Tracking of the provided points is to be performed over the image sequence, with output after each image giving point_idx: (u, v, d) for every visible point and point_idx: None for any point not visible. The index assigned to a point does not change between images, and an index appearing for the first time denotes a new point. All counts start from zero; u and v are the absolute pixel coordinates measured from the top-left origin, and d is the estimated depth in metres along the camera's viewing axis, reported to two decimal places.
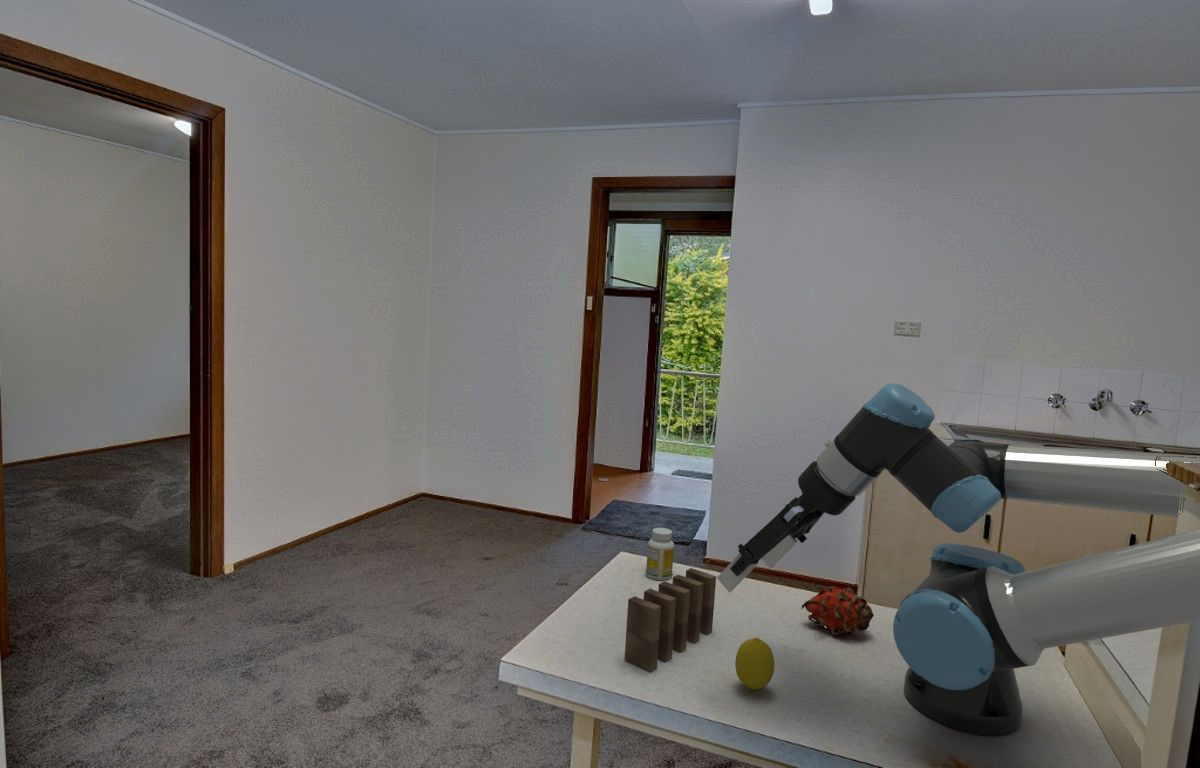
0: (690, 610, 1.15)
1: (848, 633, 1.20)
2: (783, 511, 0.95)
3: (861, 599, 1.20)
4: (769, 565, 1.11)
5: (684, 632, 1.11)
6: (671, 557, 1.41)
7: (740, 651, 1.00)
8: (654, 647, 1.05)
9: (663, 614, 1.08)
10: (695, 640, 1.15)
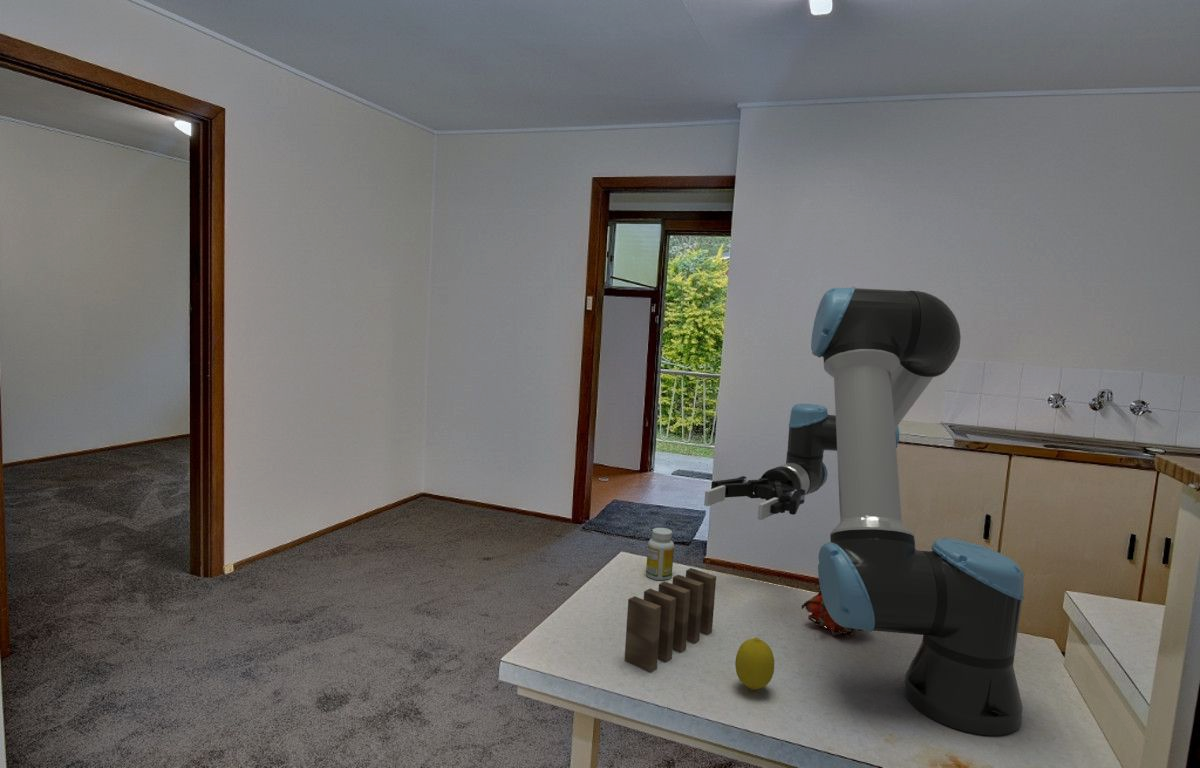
0: (690, 610, 1.15)
1: (848, 633, 1.20)
2: None
3: None
4: (759, 505, 1.22)
5: (684, 632, 1.11)
6: (671, 557, 1.41)
7: (740, 651, 1.00)
8: (654, 647, 1.05)
9: (663, 614, 1.08)
10: (695, 640, 1.15)
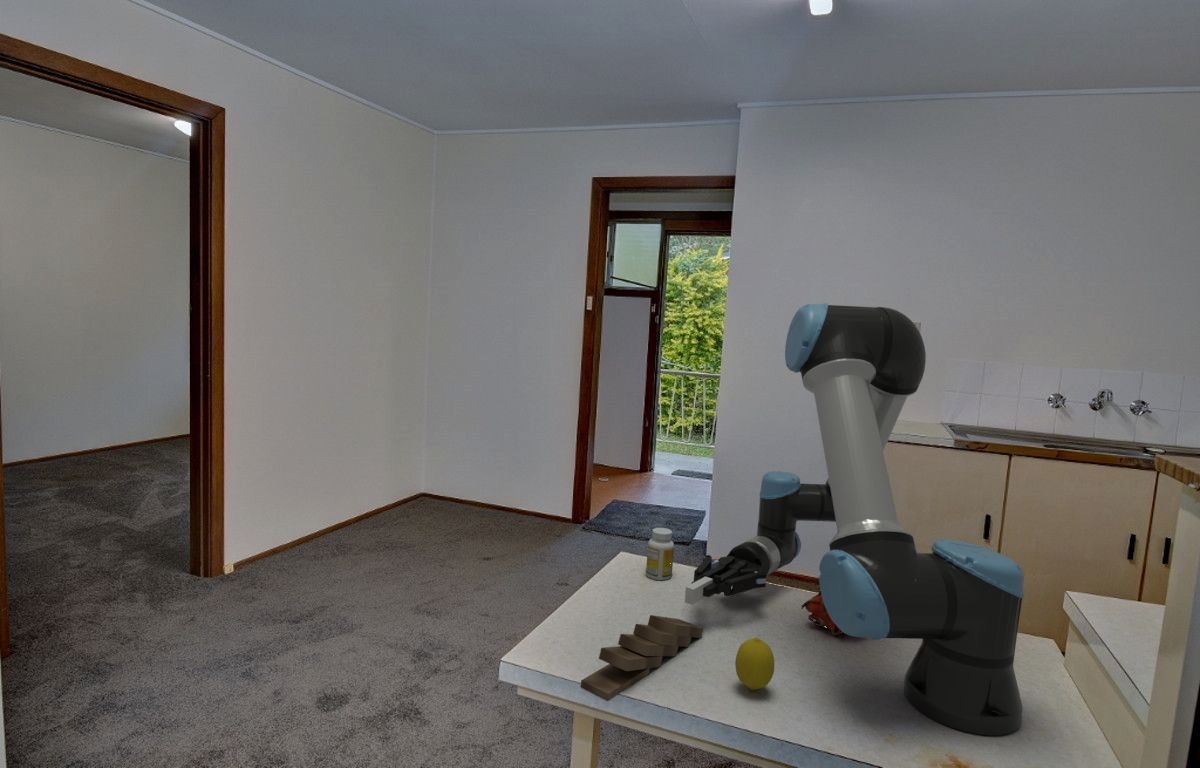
0: None
1: None
2: None
3: None
4: None
5: (667, 651, 1.08)
6: (671, 557, 1.41)
7: (740, 651, 1.00)
8: (634, 683, 1.01)
9: None
10: (688, 644, 1.13)
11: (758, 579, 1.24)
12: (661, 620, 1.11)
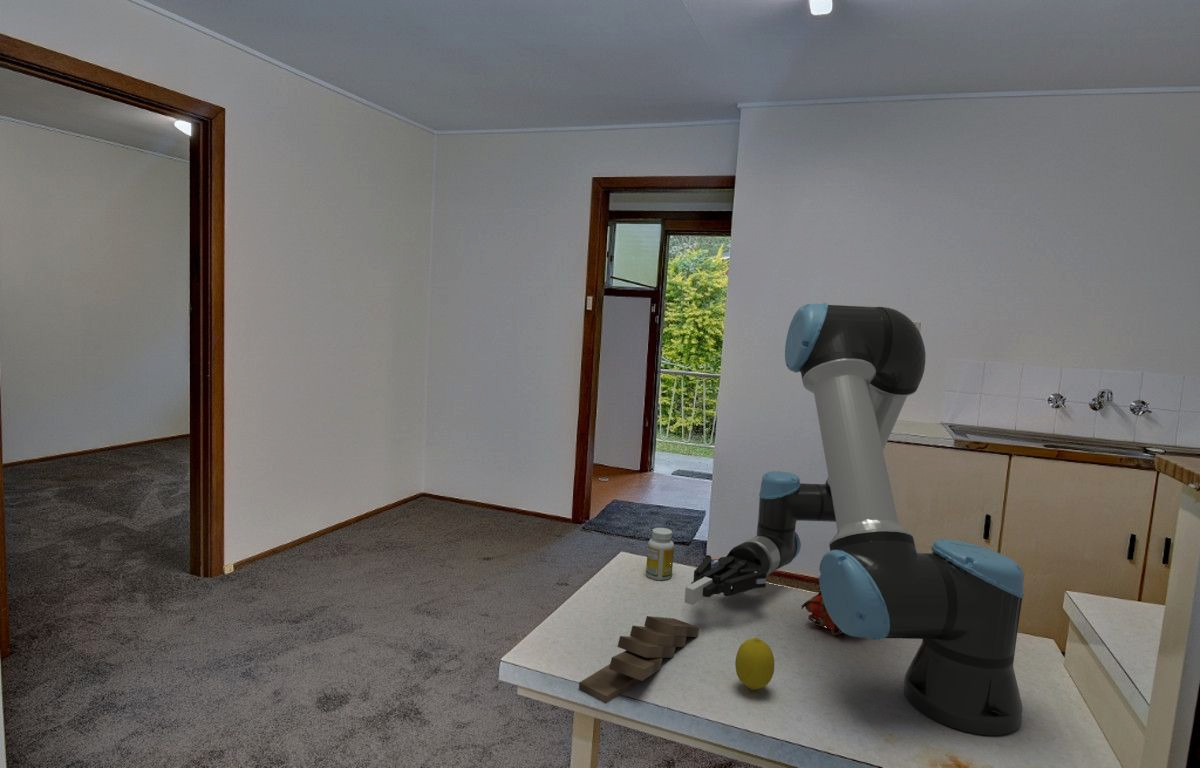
0: None
1: None
2: None
3: None
4: None
5: (666, 652, 1.07)
6: (671, 557, 1.41)
7: (740, 651, 1.00)
8: None
9: None
10: (683, 645, 1.13)
11: (758, 579, 1.24)
12: (658, 621, 1.11)
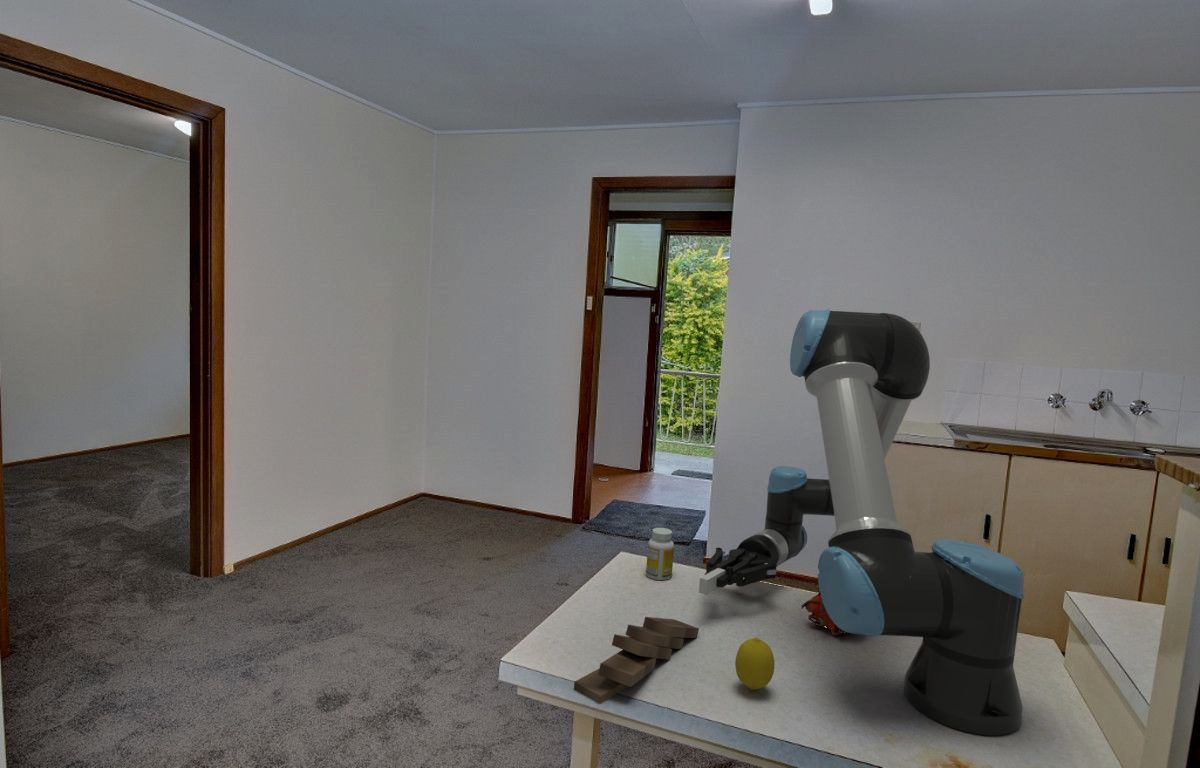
0: None
1: (848, 633, 1.20)
2: None
3: None
4: None
5: (661, 653, 1.06)
6: (671, 557, 1.41)
7: (740, 651, 1.00)
8: None
9: None
10: (680, 647, 1.12)
11: (768, 570, 1.28)
12: (656, 622, 1.11)
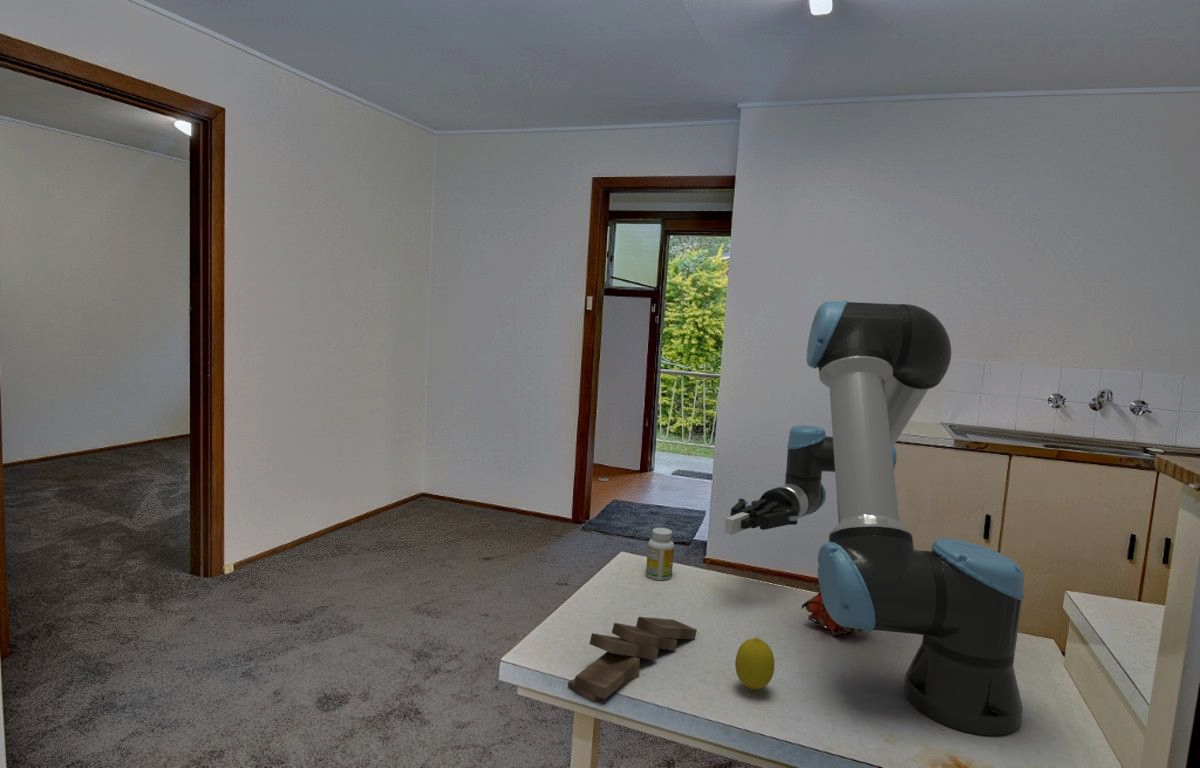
0: None
1: (848, 633, 1.20)
2: None
3: None
4: None
5: (643, 652, 1.05)
6: (671, 557, 1.41)
7: (740, 651, 1.00)
8: None
9: None
10: (673, 648, 1.11)
11: (790, 516, 1.34)
12: (648, 622, 1.11)
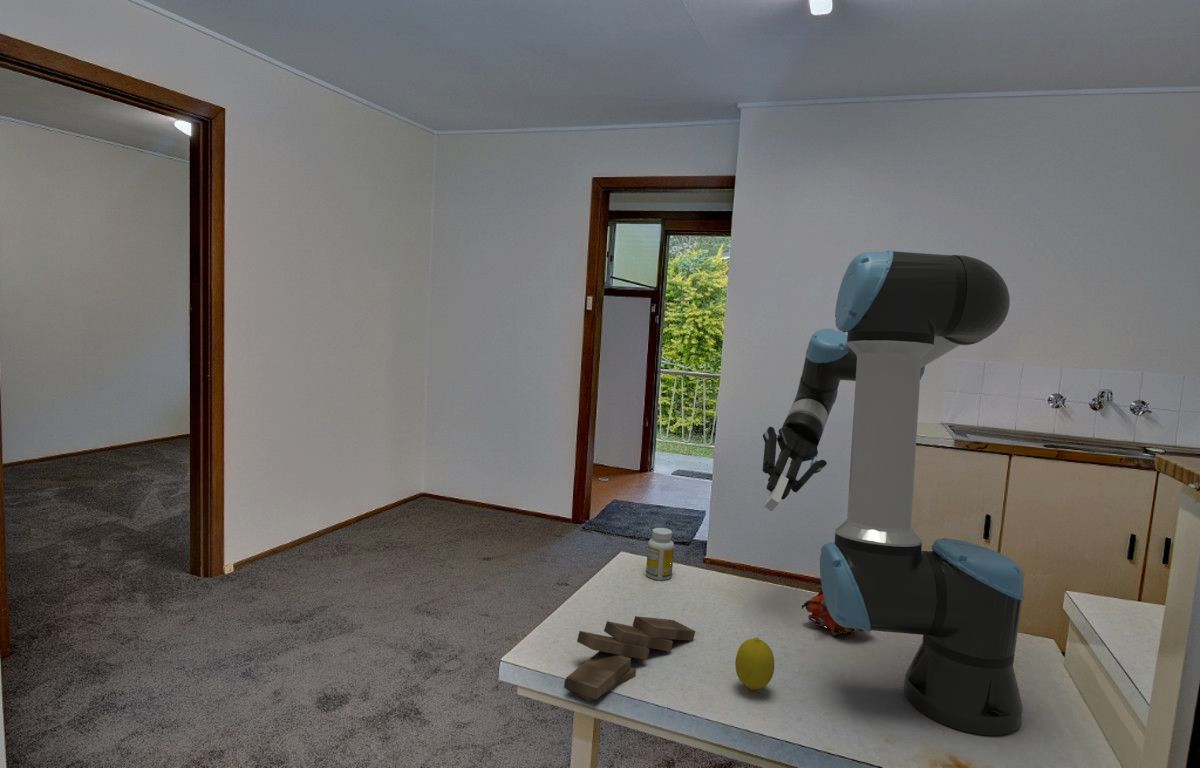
0: None
1: (848, 633, 1.20)
2: (764, 438, 1.33)
3: None
4: None
5: (631, 651, 1.05)
6: (671, 557, 1.41)
7: (740, 651, 1.00)
8: (619, 684, 1.01)
9: None
10: (668, 649, 1.10)
11: (819, 468, 1.30)
12: (644, 622, 1.11)
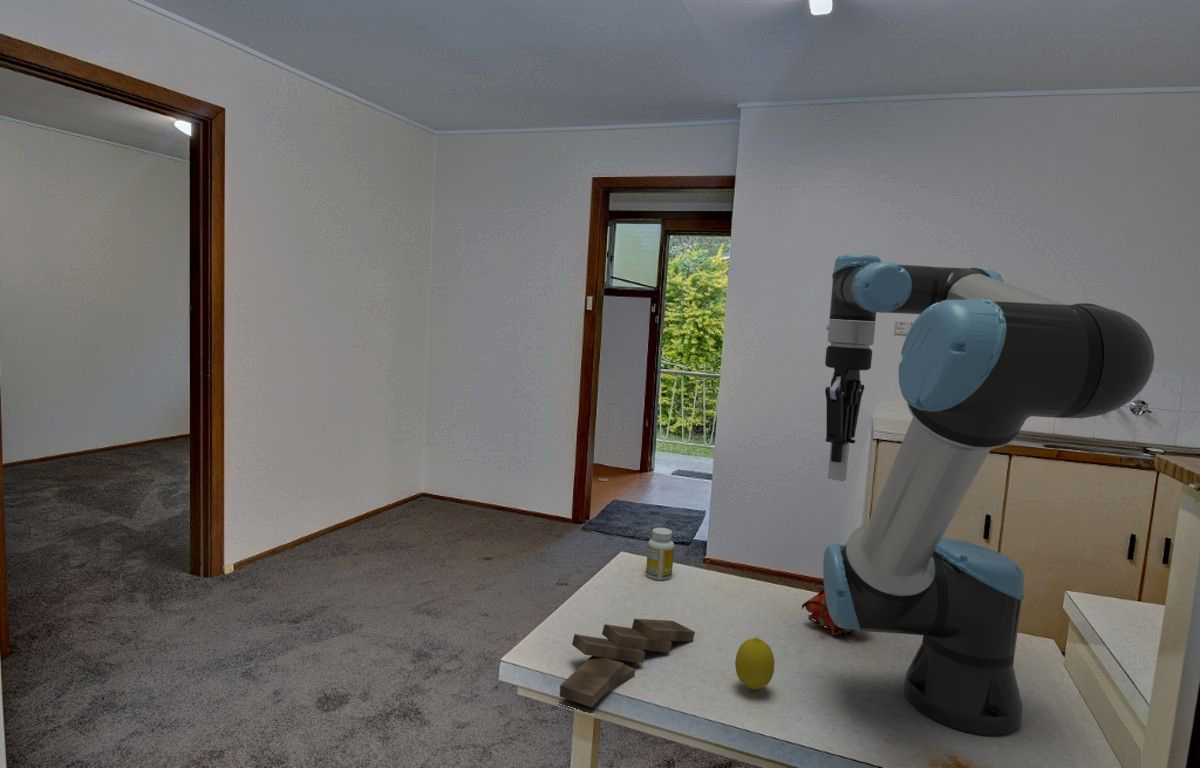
0: None
1: (848, 633, 1.20)
2: (827, 396, 1.17)
3: None
4: None
5: (626, 655, 1.04)
6: (671, 557, 1.41)
7: (740, 651, 1.00)
8: (619, 685, 1.01)
9: None
10: (667, 650, 1.10)
11: None
12: (643, 624, 1.11)
